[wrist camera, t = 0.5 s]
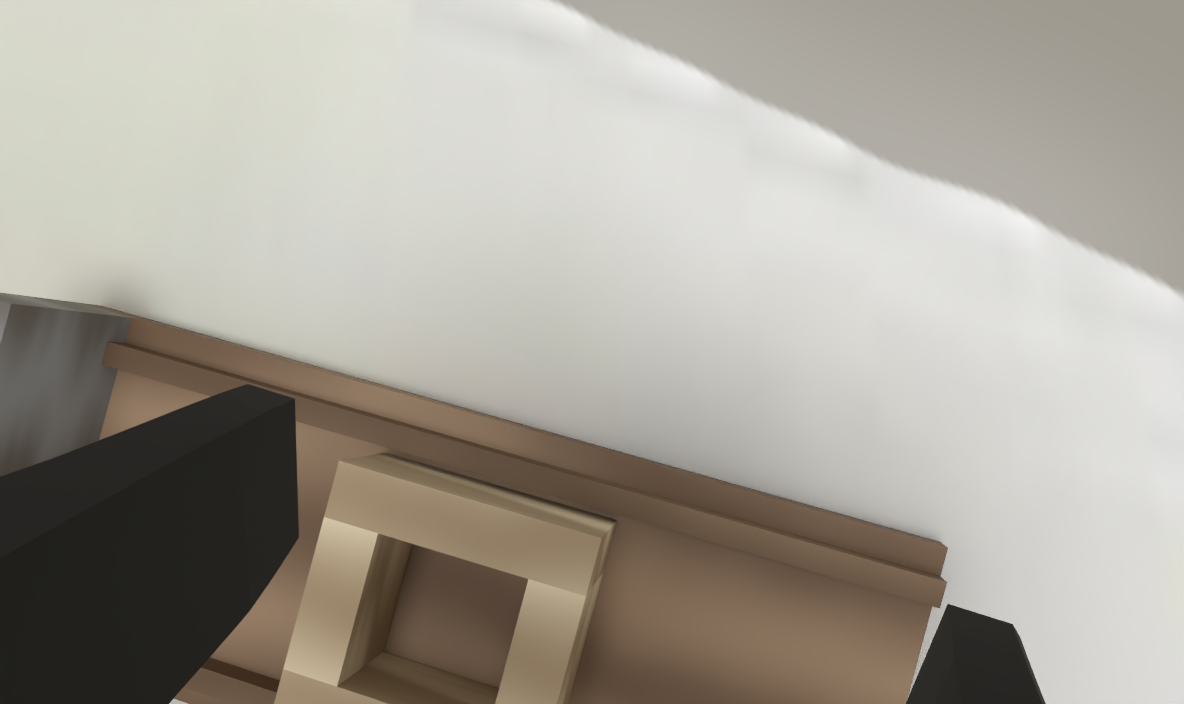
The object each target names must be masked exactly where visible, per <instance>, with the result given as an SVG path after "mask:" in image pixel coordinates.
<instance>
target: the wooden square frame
mask: <svg viewBox="0 0 1184 704" xmlns="http://www.w3.org/2000/svg"><path fill="white" fill-rule="evenodd" d="M616 524H617V520H615V519H612V518H609V517H605V516H602V515H598V514H595V513H591V512H588V511H585V510H581V509H578V508H574V507H571V506H567V505H564V504H560V503H557V502H554V501H550V500H547V499H543V498H540V497H536V496H533V495H530V494H526V493H523V492H519V491H516V490H512V489H509V488H506V487H502V486H499V485H495V484H492V483H488V482H485V481H482V480H478V479H475V478H471V477H468V476H464V475H461V474H458V473H454V472H451V471H447V470H444V469H440V468H437V467H434V466H430V465H427V464H423V463H420V462H416V461H413V460H409V459H406V458H403V457H399V456H396V455H392V454H389V453H385V452H384V453H379V454H373V455H368V456H362V457H357V458H351V459H346V460H340V461H339V463H338V467H337V470H336V474H335V478H334V482H333V485H332V489H331V493H330V496H329V500H328V504H327V508H326V511H325V515H324V519H323V523H322V526H321V530H320V534H319V538H318V541H317V545H316V549H315V552H314V556H313V560H312V564H311V567H310V571H309V575H308V579H307V582H306V586H305V590H304V594H303V597H302V601H301V605H300V608H299V612H298V616H297V620H296V623H295V627H294V631H293V635H292V638H291V642H290V646H289V650H288V653H287V657H286V661H285V664H284V668H283V672H282V676H281V679H280V683H279V687H278V691H277V694H276V698H275V702H274V704H568V703H569V699H570V695H571V691H572V688H573V684H574V680H575V677H576V673H577V669H578V665H579V662H580V658H581V654H582V650H583V647H584V643H585V639H586V636H587V632H588V628H589V624H590V621H591V617H592V613H593V609H594V606H595V602H596V598H597V595H598V591H599V587H600V583H601V580H602V576H603V572H604V568H605V565H606V561H607V557H608V554H609V550H610V546H611V542H612V539H613V535H614V531H615V527H616ZM412 544H415V545H418V546H421V547H425V548H428V549H431V550H435V551H438V552H441V553H444V554H448V555H451V556H454V557H458V558H461V559H464V560H468V561H471V562H474V563H477V564H481V565H484V566H487V567H491V568H494V569H497V570H500V571H504V572H507V573H510V574H514V575H517V576H520V577H524V578H527V579H528V583H527V587H526V590H525V594H524V598H523V602H522V605H521V609H520V613H519V616H518V620H517V624H516V628H515V631H514V635H513V639H512V643H511V646H510V650H509V654H508V657H507V661H506V665H505V669H504V672H503V676H502V680H501V684H500V687H499V689H497V688H494V687H491V686H488V685H485V684H482V683H479V682H476V681H472V680H469V679H466V678H463V677H460V676H457V675H454V674H451V673H448V672H444V671H441V670H438V669H435V668H432V667H429V666H426V665H423V664H419V663H416V662H413V661H410V660H407V659H404V658H401V657H398V656H395V655H391V654H388V653H385V652H383V651H384V647H385V644H386V640H387V636H388V633H389V629H390V625H391V621H392V618H393V614H394V610H395V606H396V603H397V599H398V595H399V592H400V588H401V584H402V580H403V577H404V573H405V569H406V565H407V562H408V558H409V554H410V551H411V547H412Z"/></svg>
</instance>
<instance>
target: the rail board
mask: <svg viewBox="0 0 1184 704" xmlns="http://www.w3.org/2000/svg"><path fill="white" fill-rule="evenodd" d="M246 384H250V385H253V386H256V387H259V388H262V389H265V390H269V391H272V392H275V393H278V394H281V395H285V396H288V397H291V398H294V399H295V416H296V451H297V486H298V521H299V538H298V540H297V541H296V543H295V544H294V546H293V548H292V549H291V551H290V552H289V554H288V555H287V557H286V558H285V560H284V561H283V563H282V565H281V566H280V568H279V569H278V571H277V572H276V574H275V575H274V577H273V578H272V580H271V581H270V583H269V584H268V586H267V587H266V588H265V590H264V591H263V593H262V594H261V596H260V597H259V599H258V600H257V601H256V603H255V604H254V606H253V607H252V609H251V610H250V611H249V612H248V614H247V615H246V616H245V617H244V618H243V620H242V621H241V622H240V623H239V624H238V625H237V627H236V628H235V629H234V630H233V631H232V632H231V634H230V635H229V636H228V637H227V638H226V639H225V640H224V642H223V643H222V644H221V645H220V646H219V647H218V649H217V650H216V651H215V652H214V653H213V654H212V655H211V657H210V658H209V659H208V660H207V661H206V662H205V663H204V665H203V666H202V667H201V668H200V669H199V670H198V671H197V672H196V674H195V675H194V676H193V677H192V678H191V679H190V680H189V682H188V683H187V684H186V685H185V686H184V687H183V688H182V689H181V691H180V692H179V693H178V694H177V695H176V696H175V697H174V699H177V700H180V701H183V702H186V703H189V704H274V702H275V698H276V694H277V691H278V687H279V683H280V679H281V676H282V672H283V668H284V664H285V661H286V657H287V653H288V650H289V646H290V642H291V638H292V635H293V631H294V627H295V623H296V620H297V616H298V612H299V608H300V605H301V601H302V597H303V594H304V590H305V586H306V582H307V579H308V575H309V571H310V567H311V564H312V560H313V556H314V552H315V549H316V545H317V541H318V538H319V534H320V530H321V526H322V523H323V519H324V515H325V511H326V508H327V504H328V500H329V496H330V493H331V489H332V485H333V482H334V478H335V474H336V470H337V467H338V463H339V461H340V460H346V459H351V458H357V457H362V456H368V455H373V454H379V453H384V452H385V453H389V454H392V455H396V456H399V457H403V458H406V459H409V460H413V461H416V462H420V463H423V464H427V465H430V466H434V467H437V468H440V469H444V470H447V471H451V472H454V473H458V474H461V475H464V476H468V477H471V478H475V479H478V480H482V481H485V482H488V483H492V484H495V485H499V486H502V487H506V488H509V489H512V490H516V491H519V492H523V493H526V494H530V495H533V496H536V497H540V498H543V499H547V500H550V501H554V502H557V503H560V504H564V505H567V506H571V507H574V508H578V509H581V510H585V511H588V512H591V513H595V514H598V515H602V516H605V517H609V518H612V519H615V520H617V524H616V527H615V531H614V535H613V539H612V542H611V546H610V550H609V554H608V557H607V561H606V565H605V568H604V572H603V576H602V580H601V583H600V587H599V591H598V595H597V598H596V602H595V606H594V609H593V613H592V617H591V621H590V624H589V628H588V632H587V636H586V639H585V643H584V647H583V650H582V654H581V658H580V662H579V665H578V669H577V673H576V677H575V680H574V684H573V688H572V691H571V695H570V699H569V703H568V704H906V701H907V698H908V694H909V690H910V687H911V683H912V679H913V675H914V672H915V668H916V664H917V661H918V657H919V653H920V649H921V646H922V642H923V638H924V634H925V631H926V627H927V623H928V620H929V616H930V612H931V608H932V606H934V607H937V608H940V606H941V602H942V598H943V595H944V591H945V587H946V583H947V582H946V581H945V580H944V579H943V578H942V577H940V575H941V571H942V568H943V564H944V560H945V556H946V553H947V549H948V548H947V547H946V546H945V545H943V544H942V543H941V542H938V541H934V540H931V539H927V538H924V537H920V536H916V535H913V534H909V533H906V532H902V531H899V530H895V529H892V528H888V527H884V526H881V525H877V524H874V523H870V522H867V521H863V520H860V519H856V518H853V517H849V516H845V515H842V514H838V513H835V512H831V511H828V510H824V509H821V508H817V507H813V506H810V505H806V504H803V503H799V502H796V501H792V500H789V499H785V498H781V497H778V496H774V495H771V494H767V493H764V492H760V491H757V490H753V489H750V488H746V487H742V486H739V485H735V484H732V483H728V482H725V481H721V480H718V479H714V478H710V477H707V476H703V475H700V474H696V473H693V472H689V471H686V470H682V469H679V468H675V467H671V466H668V465H664V464H661V463H657V462H654V461H650V460H647V459H643V458H639V457H636V456H632V455H629V454H625V453H622V452H618V451H615V450H611V449H608V448H604V447H600V446H597V445H593V444H590V443H586V442H583V441H579V440H576V439H572V438H568V437H565V436H561V435H558V434H554V433H551V432H547V431H544V430H540V429H536V428H533V427H529V426H526V425H522V424H519V423H515V422H512V421H508V420H505V419H501V418H497V417H494V416H490V415H487V414H483V413H480V412H476V411H473V410H469V409H465V408H462V407H458V406H455V405H451V404H448V403H444V402H441V401H437V400H434V399H430V398H426V397H423V396H419V395H416V394H412V393H409V392H405V391H402V390H398V389H394V388H391V387H387V386H384V385H380V384H377V383H373V382H370V381H366V380H362V379H359V378H355V377H352V376H348V375H345V374H341V373H338V372H334V371H331V370H327V369H323V368H320V367H316V366H313V365H309V364H306V363H302V362H299V361H295V360H291V359H288V358H284V357H281V356H277V355H274V354H270V353H267V352H263V351H260V350H256V349H252V348H249V347H245V346H242V345H238V344H235V343H231V342H228V341H224V340H220V339H217V338H213V337H210V336H206V335H203V334H199V333H196V332H192V331H189V330H185V329H181V328H178V327H174V326H171V325H167V324H164V323H160V322H157V321H153V320H149V319H146V318H142V317H139V316H135V315H132V314H128V313H125V312H121V311H117V310H114V309H110V308H107V307H103V306H98V305H90V304H83V303H75V302H67V301H60V300H52V299H45V298H37V297H29V296H22V295H14V294H6V293H0V477H1V476H3V475H6V474H9V473H12V472H15V471H18V470H21V469H23V468H26V467H29V466H32V465H35V464H38V463H41V462H43V461H46V460H49V459H52V458H55V457H57V456H60V455H63V454H65V453H68V452H70V451H73V450H75V449H78V448H81V447H83V446H86V445H88V444H91V443H93V442H96V441H99V440H101V439H104V438H106V437H109V436H111V435H114V434H117V433H119V432H122V431H124V430H127V429H129V428H132V427H135V426H137V425H140V424H142V423H145V422H147V421H150V420H152V419H155V418H157V417H160V416H162V415H165V414H167V413H170V412H172V411H175V410H177V409H180V408H183V407H185V406H188V405H190V404H193V403H195V402H198V401H201V400H203V399H206V398H209V397H211V396H214V395H217V394H219V393H222V392H225V391H228V390H231V389H234V388H237V387H240V386H243V385H246ZM527 583H528V579H527V578H524V577H520V576H517V575H514V574H510V573H507V572H504V571H500V570H497V569H494V568H491V567H487V566H484V565H481V564H477V563H474V562H471V561H468V560H464V559H461V558H458V557H454V556H451V555H448V554H444V553H441V552H438V551H435V550H431V549H428V548H425V547H421V546H418V545H415V544H412V547H411V551H410V554H409V558H408V562H407V565H406V569H405V573H404V577H403V580H402V584H401V588H400V592H399V595H398V599H397V603H396V606H395V610H394V614H393V618H392V621H391V625H390V629H389V633H388V636H387V640H386V644H385V647H384V651H383V652H385V653H388V654H391V655H395V656H398V657H401V658H404V659H407V660H410V661H413V662H416V663H419V664H423V665H426V666H429V667H432V668H435V669H438V670H441V671H444V672H448V673H451V674H454V675H457V676H460V677H463V678H466V679H469V680H472V681H476V682H479V683H482V684H485V685H488V686H491V687H494V688H497V689H499V687H500V684H501V680H502V676H503V672H504V669H505V665H506V661H507V657H508V654H509V650H510V646H511V643H512V639H513V635H514V631H515V628H516V624H517V620H518V616H519V613H520V609H521V605H522V602H523V598H524V594H525V590H526V587H527Z"/></svg>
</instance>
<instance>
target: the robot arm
mask: <svg viewBox="0 0 1184 704" xmlns="http://www.w3.org/2000/svg"><path fill="white" fill-rule="evenodd" d="M298 538H299V521H298V486H297V451H296V416H295V399H294V398H291V397H288V396H285V395H281V394H278V393H275V392H272V391H269V390H265V389H262V388H259V387H256V386H253V385H250V384H246V385H243V386H240V387H237V388H234V389H231V390H228V391H225V392H222V393H219V394H217V395H214V396H211V397H209V398H206V399H203V400H201V401H198V402H195V403H193V404H190V405H188V406H185V407H183V408H180V409H177V410H175V411H172V412H170V413H167V414H165V415H162V416H160V417H157V418H155V419H152V420H150V421H147V422H145V423H142V424H140V425H137V426H135V427H132V428H129V429H127V430H124V431H122V432H119V433H117V434H114V435H111V436H109V437H106V438H104V439H101V440H99V441H96V442H93V443H91V444H88V445H86V446H83V447H81V448H78V449H75V450H73V451H70V452H68V453H65V454H63V455H60V456H57V457H55V458H52V459H49V460H46V461H43V462H41V463H38V464H35V465H32V466H29V467H26V468H23V469H21V470H18V471H15V472H12V473H9V474H6V475H3V476H1V477H0V704H169V703H170V702H171V701H172V700H173V698H174V697H175V696H176V695H177V694H178V693H179V692H180V691H181V689H182V688H183V687H184V686H185V685H186V684H187V683H188V682H189V680H190V679H191V678H192V677H193V676H194V675H195V674H196V672H197V671H198V670H199V669H200V668H201V667H202V666H203V665H204V663H205V662H206V661H207V660H208V659H209V658H210V657H211V655H212V654H213V653H214V652H215V651H216V650H217V649H218V647H219V646H220V645H221V644H222V643H223V642H224V640H225V639H226V638H227V637H228V636H229V635H230V634H231V632H232V631H233V630H234V629H235V628H236V627H237V625H238V624H239V623H240V622H241V621H242V620H243V618H244V617H245V616H246V615H247V614H248V612H249V611H250V610H251V609H252V607H253V606H254V604H255V603H256V601H257V600H258V599H259V597H260V596H261V594H262V593H263V591H264V590H265V588H266V587H267V586H268V584H269V583H270V581H271V580H272V578H273V577H274V575H275V574H276V572H277V571H278V569H279V568H280V566H281V565H282V563H283V561H284V560H285V558H286V557H287V555H288V554H289V552H290V551H291V549H292V548H293V546H294V544H295V543H296V541H297V540H298ZM906 704H1045V701H1044V699H1043V696H1042V694H1041V691H1040V689H1039V686H1038V684H1037V681H1036V679H1035V676H1034V673H1033V671H1032V668H1031V665H1030V663H1029V660H1028V658H1027V655H1026V652H1025V650H1024V647H1023V644H1022V641H1021V639H1020V636H1019V635H1018V633H1017V631H1016V629H1015V628H1014V626H1013V624H1010V623H1007V622H1004V621H1000V620H997V619H994V618H991V617H988V616H985V615H981V614H978V613H975V612H972V611H969V610H965V609H962V608H959V607H956V606H953V605H950V604H948V605H947V607H946V610H945V612H944V615H943V617H942V619H941V622H940V624H939V626H938V629H937V631H936V634H935V636H934V638H933V641H932V643H931V645H930V648H929V650H928V652H927V655H926V657H925V660H924V662H923V664H922V667H921V669H920V671H919V674H918V676H917V679H916V681H915V683H914V686H913V688H912V690H911V693H910V695H909V697H908V700H907V702H906Z"/></svg>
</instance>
